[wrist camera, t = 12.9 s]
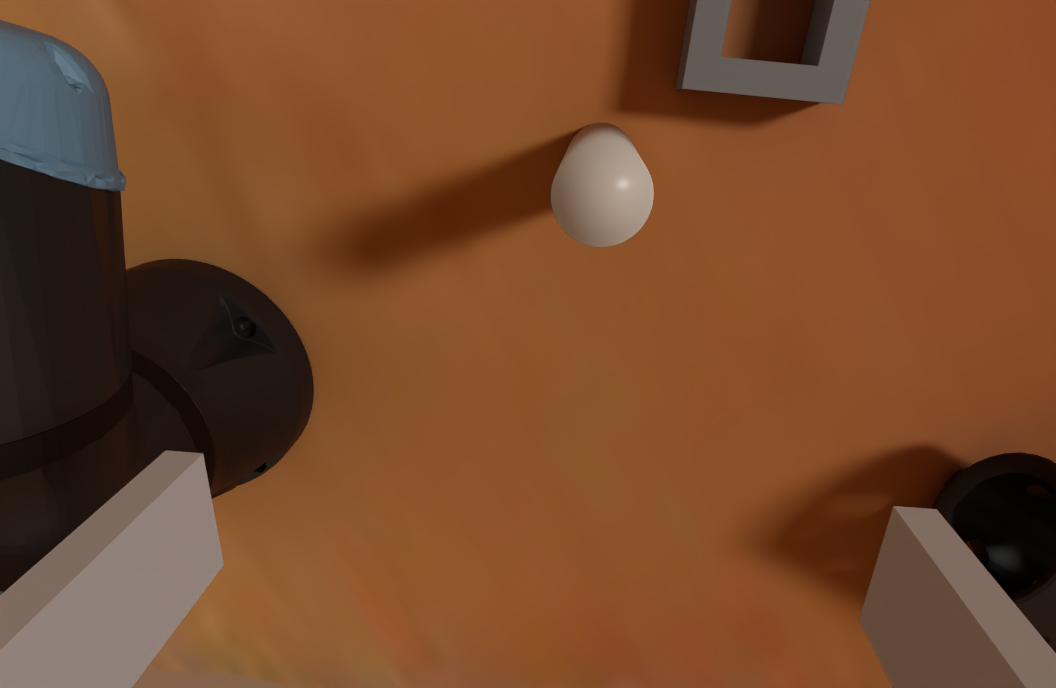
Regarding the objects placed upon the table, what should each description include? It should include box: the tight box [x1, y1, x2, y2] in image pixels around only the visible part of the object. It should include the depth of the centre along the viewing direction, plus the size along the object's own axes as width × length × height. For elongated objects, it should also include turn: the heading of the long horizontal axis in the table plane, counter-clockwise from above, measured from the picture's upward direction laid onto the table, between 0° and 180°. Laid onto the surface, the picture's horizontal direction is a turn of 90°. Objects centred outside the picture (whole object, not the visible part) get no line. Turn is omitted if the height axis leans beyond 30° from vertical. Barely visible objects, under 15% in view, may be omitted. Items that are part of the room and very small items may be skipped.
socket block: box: [675, 0, 870, 104], centre depth 30 cm, size 7×7×3 cm
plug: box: [551, 123, 654, 247], centre depth 28 cm, size 4×4×13 cm
